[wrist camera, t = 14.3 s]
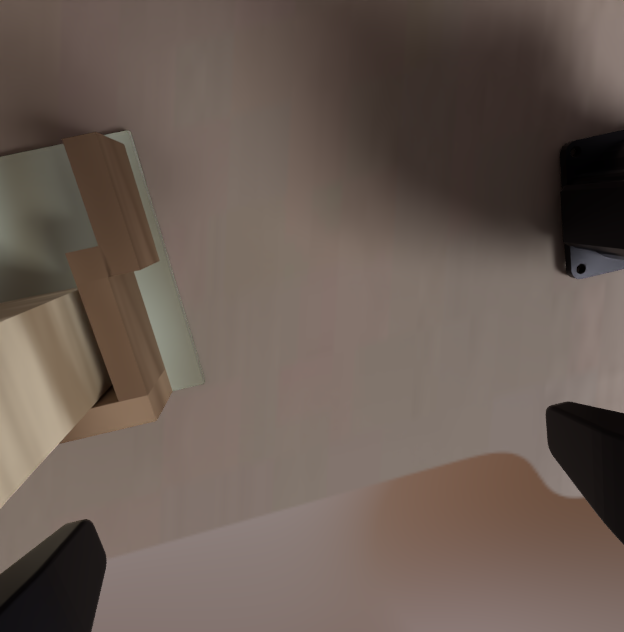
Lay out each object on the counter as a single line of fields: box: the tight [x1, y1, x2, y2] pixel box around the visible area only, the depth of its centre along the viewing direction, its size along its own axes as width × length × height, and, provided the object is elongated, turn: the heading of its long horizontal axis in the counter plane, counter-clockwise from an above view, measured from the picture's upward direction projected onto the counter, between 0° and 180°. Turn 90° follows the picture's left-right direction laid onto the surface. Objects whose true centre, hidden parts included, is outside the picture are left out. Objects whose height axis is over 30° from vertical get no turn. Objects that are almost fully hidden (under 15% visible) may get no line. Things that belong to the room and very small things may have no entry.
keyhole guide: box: [0, 130, 205, 444], centre depth 18 cm, size 12×12×3 cm
